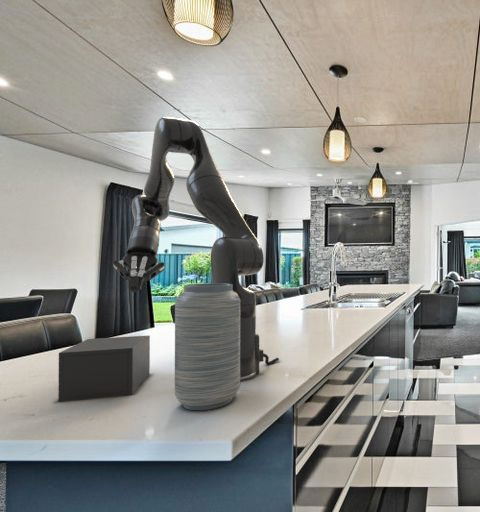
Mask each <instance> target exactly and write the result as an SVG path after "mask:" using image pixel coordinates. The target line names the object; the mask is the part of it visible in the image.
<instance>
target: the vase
mask: <svg viewBox="0 0 480 512" xmlns="http://www.w3.org/2000/svg"><path fill="white" fill-rule="evenodd" d="M240 387H241V380H240V298H239V296H238V294H237V293H236V292H234V291H233V285H232V284H229V283H212V282H211V283H210V282H209V283H208V282H207V283H190V284H184V285H183V291H182V292H181V293H180V294H179V295H177V297H176V299H175V302H174V396H175V398H176V399H177V401H178V402H179V403H181V405H182V406H183V408H184V409H187V410H190V411H207V410H214V409H217V408H221V407H224V406H227V405H228V404H229V403H231V402H232V400H233V398H234V397H235V396H236V395H237V393H238V392H239V390H240Z"/></svg>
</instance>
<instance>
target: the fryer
mask: <svg viewBox="0 0 480 512" xmlns="http://www.w3.org/2000/svg"><path fill="white" fill-rule="evenodd" d="M150 345H151V335H149V334H148V335H133V336H117V337H100V338H97V337H96V338H87V339H85V340H83V341H81V342H79V343H77V344H74V345H72V346H70V347H68V348H66V349H64V350H62V351H60V352H58V387H57V388H58V391H57V394H58V398H57V402H58V403H60V402H71V401H80V400H90V399H99V398H100V399H101V398H110V397H119V396H129V395H134V393H135V392H136V391H137V390H138V388H139V387H141V386H142V384H143V383H144V382H145V381H146V380H147V378H149V376H150V374H151V373H150V370H151V369H150V368H151V362H150V361H151V360H150V359H151V358H150V357H151V355H150V354H151V352H150V351H151V349H150V348H151V346H150Z"/></svg>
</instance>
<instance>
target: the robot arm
mask: <svg viewBox="0 0 480 512" xmlns="http://www.w3.org/2000/svg"><path fill="white" fill-rule="evenodd" d="M169 153H171V154H172V153H174V154H185V155H189V156H190V157H191V158H192V159H193V165H192V168H191V170H190V171H189V173H188V175H187V179H186V190H187V193H188V195H189V197H190V200H191V202H192V204H193V206H194V207H195V210H197V212H198V213H199V214H201V216H202V217H204V218H205V219H206V220H207V221H208V222H210V223H211V225H213V226H215V227H216V228H217V229H218V230H219V231H220V232H221V233H222V234H223V235H224V236H221V237H218V238H217V239H216V240H215V241H214V242H213V244H212V247H211V251H210V276H211V283H229V284H232V285H233V291H234V292H236V293H237V294H238V296H239V298H240V381H245V380H248V379H251V378H253V377H255V376H257V375H260V363H261V362H264V363H265V364H266V365H268V366H269V365H272V364H275V363H276V362H278V361H279V360H280V358H279V357H275V358H274V359H272V360H270V359H269V358H270V357H269V355H268V354H266V353H265V352H264V350H263V349H260V335H259V334H258V333H257V316H256V315H257V304H256V303H257V294H256V292H255V291H254V290H250V289H248V288H246V287H244V286H243V285H242V284H241V282H240V277H239V276H253V275H256V274H258V273H260V272H261V270H262V268H263V266H264V261H265V259H264V252H263V248H262V247H261V244H260V243H259V240H258V238H257V237H256V235H255V234H254V233H253V231H252V230H251V229H250V227H249V225H248V224H247V222H246V221H245V219H244V217H243V216H242V214H241V212H240V210H239V209H238V207H237V204H236V203H235V201H234V199H233V197H232V195H231V193H230V190H229V189H228V186H227V184H226V183H225V180H224V179H223V177H222V175H221V173H220V171H219V169H218V167H217V165H216V163H215V161H214V159H213V157H212V154H211V152H210V149H209V146H208V143H207V141H206V137H205V135H204V133H203V131H202V128H201V127H200V125H199V124H198V123H197V122H195V121H193V120H189V119H184V118H178V117H177V118H176V117H170V116H162V117H160V118H159V119H158V120H157V122H156V125H155V128H154V133H153V140H152V148H151V157H150V166H149V172H148V176H147V178H146V182H145V185H144V188H143V194H137V195H136V196H135V197H133V199H132V202H131V212H132V216H133V226H132V231H131V233H130V236H129V240H128V244H127V249H126V252H125V255H124V256H123V257H122V259H121V260H119V261H118V260H116V259H115V260H113V261H112V265H113V270H115V271H116V272H117V273H118V275H120V277H122V279H123V280H125V281H129V283H128V289H129V291H131V292H132V293H138V292H139V291H141V290H142V289H143V282H144V281H147V282H148V281H151V280H153V279H154V278H155V277H157V276H158V275H159V274H161V273H162V272H164V271H165V263H164V262H163V261H162V262H160V261H159V260H158V258H157V257H158V250H159V247H160V232H161V226H162V225H161V222H162V221H165V220H166V219H168V217H169V216H170V215H169V214H170V196H171V193H172V191H173V188H174V185H175V175H174V171H173V169H172V168H171V166H170V164H169V162H168V160H167V156H168V154H169ZM126 268H127V269H128V270H129V271H130V272H129V271H128V270H127V269H126ZM264 358H265V361H264ZM269 360H270V361H269Z"/></svg>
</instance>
